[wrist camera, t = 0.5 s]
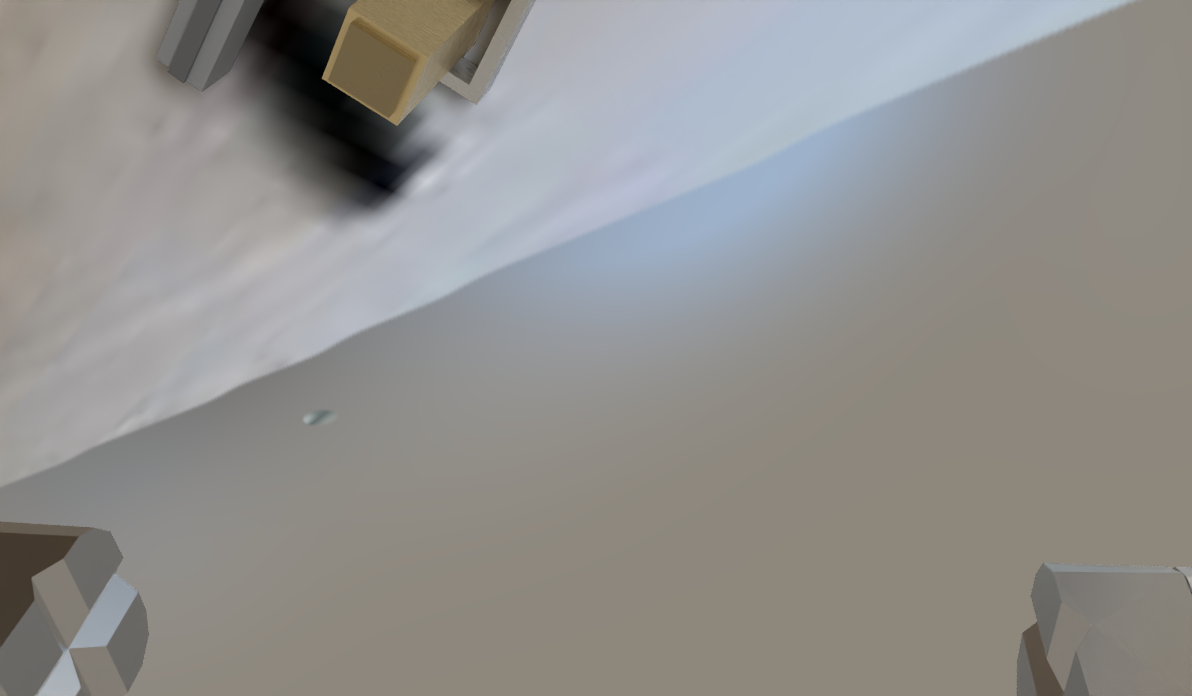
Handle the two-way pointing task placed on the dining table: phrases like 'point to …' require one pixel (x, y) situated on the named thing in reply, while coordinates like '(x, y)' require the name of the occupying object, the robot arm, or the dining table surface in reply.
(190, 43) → the long grey bar
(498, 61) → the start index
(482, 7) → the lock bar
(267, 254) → the dining table surface
